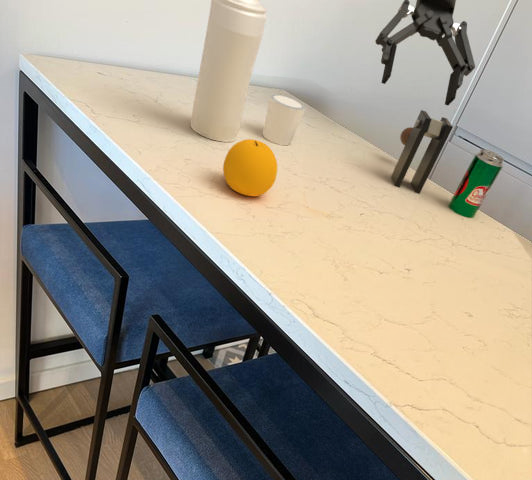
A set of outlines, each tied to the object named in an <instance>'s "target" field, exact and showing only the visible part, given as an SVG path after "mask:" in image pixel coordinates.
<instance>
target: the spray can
mask: <svg viewBox="0 0 532 480" xmlns="http://www.w3.org/2000/svg"><path fill="white" fill-rule="evenodd" d="M267 10H268V9H267V8H266V7H265V5H262V4H261V3H260V1H259V0H211V1H210V8H209V15H208V21H207V26H206V31H205V33H206V34H205V37H204V43H203V49H202V55H201V61H200V65H199V72H198V77H197V84H196V88H195V93H194V99H193V106H192V112H191V119H190V127H191V129H192V130H193V131H194V132H195V133H197V134H198V135H200V136H202V137H204V138H206V139H209V140H213V141H216V142H223V143H231V142H235V141H237V140H238V138H239V137H238V136H239V133H240V128H241V124H242V120H243V115H244V110H245V106H246V101H247V95H248V92H249V86H250V82H251V78H252V75H253V71H254V66H255V63H256V59H257V55H258V53H259V49H260V45H261V41H262V39H263V35H264V30H265V25H266V20H267V14H266V13H267Z"/></svg>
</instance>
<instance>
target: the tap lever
mask: <svg viewBox="0 0 532 480" xmlns="http://www.w3.org/2000/svg"><path fill="white" fill-rule="evenodd" d="M430 118H431V122H430V124H429V126H428V128H427V130H426V132H425V134H424V136H423V137H426V138H429V139H432V138H435V137H438V136H439V134H440V131H441V128H442V125H443V122H441V121H440V120H438V119H435V118H432V117H430ZM412 129H413V126H412V127H411V126H410V127H409V126H408V127H406V128H404V129H403V130H402V131H401V133H400V136H399V137H400V138H399V139H400V142H401V144H402V145H403V146H405V145H406V142H407V140H408V138H409V136H410V134H411V131H412Z"/></svg>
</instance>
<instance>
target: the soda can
mask: <svg viewBox="0 0 532 480" xmlns="http://www.w3.org/2000/svg"><path fill="white" fill-rule="evenodd" d="M504 161H505V159H504V157H502V156H501V155H499V154H498V153H496V152H494V151H491V150H488V149H484V148H481V149H479V151H478V152H477V153H476V154H475V155H474V156H473V158H472V160H471V162H470V164H469V166H468V168H467V169H466V171H465V172H464V175H463V177H462V179H461V180H460V182H459V184H458V186H457V188H456V189H455V192H454V193H453V195H452V197H451V199H450V201H449V203H448V204H447V206H448V208H449V209H450V210H451V211H452V212H454V213H455V214H456V215H459V216H461V217H464V218H467V219H473V218H475V216H476V215H477V213H478V211H479V209H480V208H481V206H482V204H483V202H484V200H485V199H486V197H487V196H488V193H489V192H490V190H491V188H492V186H493V185H494V183H495V181H496V180H497V178H498V176H499V174H500V173H501V171H502V169H503V168H504V163H503V162H504Z"/></svg>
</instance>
